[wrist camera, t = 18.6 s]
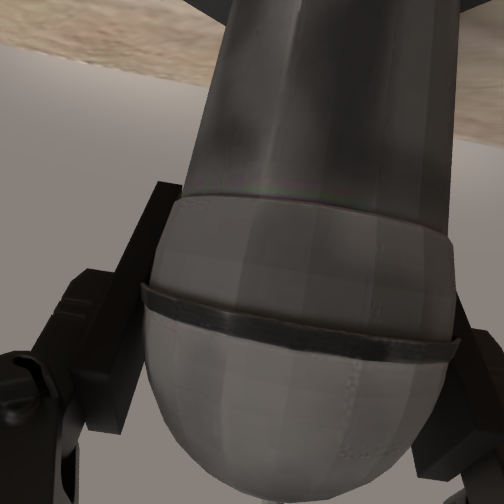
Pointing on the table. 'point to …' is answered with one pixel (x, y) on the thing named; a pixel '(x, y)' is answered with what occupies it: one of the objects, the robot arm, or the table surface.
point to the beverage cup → (311, 248)
